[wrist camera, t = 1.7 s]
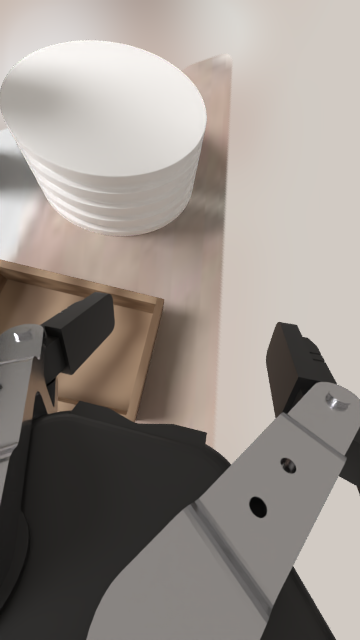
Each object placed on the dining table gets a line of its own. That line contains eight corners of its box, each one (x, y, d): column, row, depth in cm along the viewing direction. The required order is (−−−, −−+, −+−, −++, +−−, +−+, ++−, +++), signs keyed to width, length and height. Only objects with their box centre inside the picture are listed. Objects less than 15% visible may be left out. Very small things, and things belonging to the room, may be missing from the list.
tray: (-50, 382, 28) (-90, 380, 24) (7, 274, 33) (-17, 255, 29) (135, 420, 30) (132, 426, 25) (162, 311, 35) (164, 299, 30)
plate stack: (218, 209, 43) (241, 148, 32) (73, 259, 36) (39, 202, 25) (155, 112, 48) (156, 32, 38) (20, 139, 42) (-27, 50, 31)
